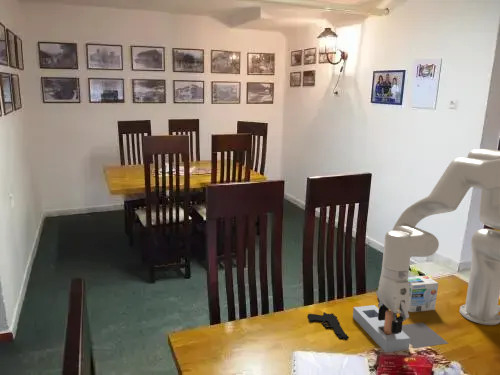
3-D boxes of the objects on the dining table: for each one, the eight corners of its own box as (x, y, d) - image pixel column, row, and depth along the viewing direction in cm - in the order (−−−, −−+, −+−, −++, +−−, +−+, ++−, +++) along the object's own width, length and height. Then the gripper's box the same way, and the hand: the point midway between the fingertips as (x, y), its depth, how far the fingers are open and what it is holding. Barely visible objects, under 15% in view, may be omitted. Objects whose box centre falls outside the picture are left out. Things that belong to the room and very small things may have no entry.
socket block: (373, 315, 137) (374, 305, 136) (408, 349, 118) (410, 338, 117) (352, 317, 135) (353, 307, 134) (385, 353, 116) (386, 341, 115)
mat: (422, 323, 133) (423, 322, 133) (448, 344, 121) (448, 343, 121) (391, 327, 130) (391, 326, 130) (414, 349, 118) (414, 348, 118)
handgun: (306, 312, 137) (333, 311, 138) (306, 316, 137) (333, 314, 138) (319, 339, 121) (349, 337, 123) (318, 342, 122) (349, 341, 123)
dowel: (389, 338, 124) (392, 309, 121) (394, 344, 121) (397, 314, 119) (380, 339, 123) (383, 310, 121) (386, 345, 120) (389, 316, 118)
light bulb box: (409, 313, 139) (412, 285, 137) (398, 303, 145) (401, 277, 143) (435, 310, 141) (439, 282, 139) (424, 301, 148) (427, 274, 145)
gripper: (424, 283, 110) (417, 340, 113) (389, 259, 126) (384, 310, 130) (401, 286, 108) (394, 344, 112) (368, 261, 124) (363, 312, 128)
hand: (389, 325), depth 121 cm, fingers open, 6 cm apart
